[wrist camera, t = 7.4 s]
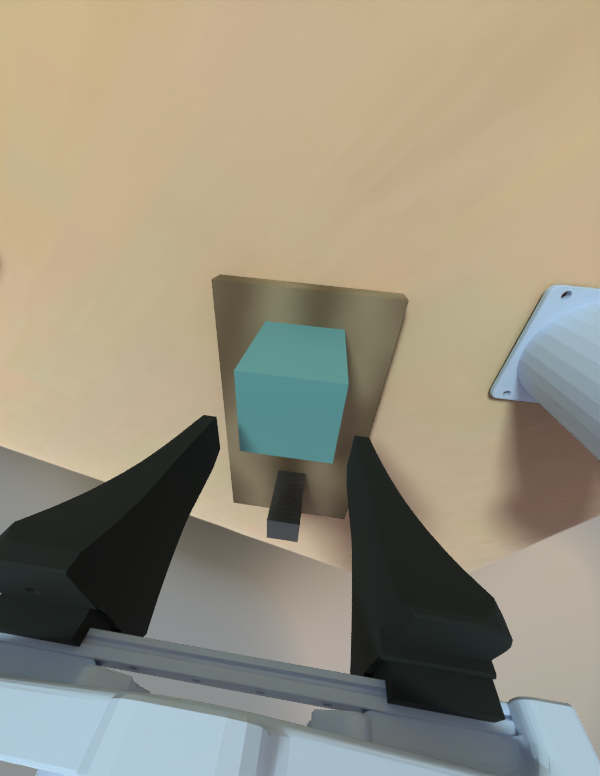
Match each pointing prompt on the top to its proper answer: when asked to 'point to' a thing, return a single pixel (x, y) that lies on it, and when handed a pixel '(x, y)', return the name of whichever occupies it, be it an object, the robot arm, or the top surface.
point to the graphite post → (286, 506)
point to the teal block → (292, 391)
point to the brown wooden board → (364, 361)
